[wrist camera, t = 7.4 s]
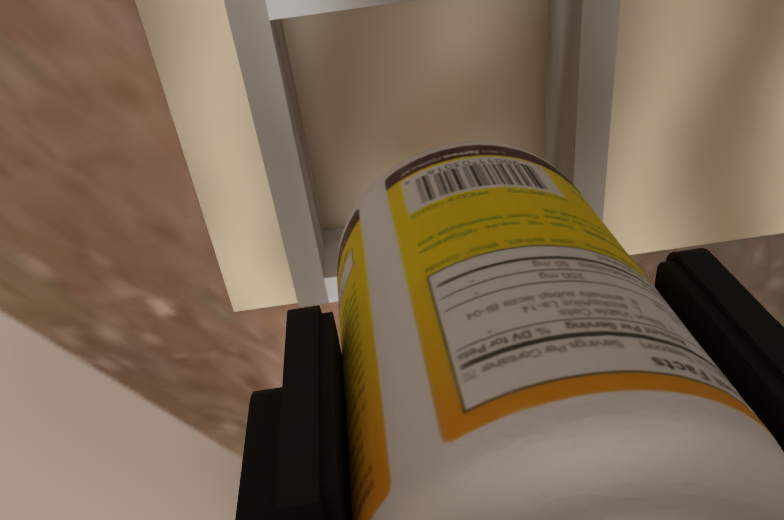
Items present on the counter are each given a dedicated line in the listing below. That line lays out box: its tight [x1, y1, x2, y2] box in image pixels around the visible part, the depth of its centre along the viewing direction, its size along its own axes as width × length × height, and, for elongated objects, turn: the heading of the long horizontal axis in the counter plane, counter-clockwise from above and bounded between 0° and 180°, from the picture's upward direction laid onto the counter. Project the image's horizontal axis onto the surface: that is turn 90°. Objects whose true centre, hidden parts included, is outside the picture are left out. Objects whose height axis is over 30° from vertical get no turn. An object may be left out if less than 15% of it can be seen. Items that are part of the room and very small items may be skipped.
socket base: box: [135, 0, 784, 312], centre depth 20 cm, size 26×14×4 cm, turn 96°
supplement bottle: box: [337, 141, 784, 520], centre depth 10 cm, size 6×6×10 cm
